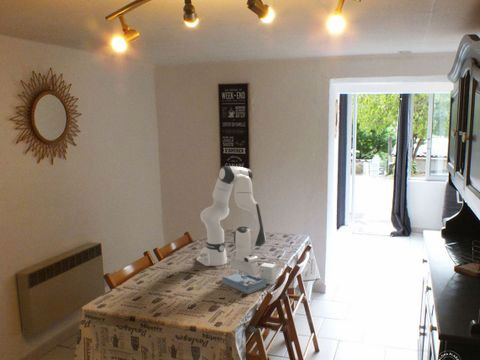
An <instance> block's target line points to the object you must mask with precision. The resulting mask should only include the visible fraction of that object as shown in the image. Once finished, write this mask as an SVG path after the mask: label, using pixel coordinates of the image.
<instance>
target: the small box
mask: <svg viewBox="0 0 480 360" xmlns="http://www.w3.org/2000/svg"><path fill="white" fill-rule="evenodd" d="M259 266H260V267H259V269H260V276H259V278H260V279H266V285H272V286H273V285H274V284H275V283H277V281H278V280H277V264H273V263H270V262H263V263H262V264H260V265H259Z"/></svg>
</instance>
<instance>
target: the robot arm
mask: <svg viewBox="0 0 480 360" xmlns="http://www.w3.org/2000/svg"><path fill="white" fill-rule="evenodd" d="M252 181H253V172H252V170H251V169H250V168H247V167H243V166H238V165H236V166H234V165H233V166H232V165H231V166H229V165H224V166H221V167H220V169H219V171H218V178H217V180H216V183H215V186H214V189H213V191H212V194H211V195H212V198H213V203H212V205H211V206H207V207H205V208H204V209H203V210H202V211H201V212H200V214H199V215H200V220H201V223H203V224H204V227H205V228H206V232H207V233H206V234H207V235H206V236H207V238H206V239H207V241H205V242H204V243H205V244H204V245H205V247H204V248H202V249H201V250H200V252H199V256H198V257H197V258H196V259H195V260H196V261H197V262H198V263H200V264H202V265H204V266H207V267H209V266H215V267H219V266H223V265H226V264H227V263H228V256H227V248H226V241H225V230H224V229H223V227H222V226H221V221H222V220H225V219H226V218H227V217H228V216H229V214H230V208H229V201H230V198H231V197H230V196H231V194H232V190H233V188H234V191H233V192H234V193H233V195H234V197H233V198H234V202H235V204H236V206H237V207H238V208H240V209H242V210H245V211H248V212H249V213H252V214H253V217H254V221H255V227H256V228H255V229H253V228H249V227H248V226H238V227H237V228H236V230H235V232H234V233H233V244H235V246H236V247H235V252H234V251H233V252H231V256H230V261H229V262H230V263H229V264H230V265H229V266H230V268H231V269H234V270H237V271H238V272H239V271H240V274H241V278H242V279H247V275H248V274H250V275H252V276H257V275H258V273H259V264H258V256H256V255H255V254H254V252H252V248H251V247H263V246H264V245H265V244H266V241H267V237H266V232H265V229H264V226H263V220H262V215H261V210H260V209H261V208H260V205H259V203H258V202H257V201H256V200H255V198H254V194H253V193H254V192H253V183H252ZM243 272H244V273H243Z"/></svg>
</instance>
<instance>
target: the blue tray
mask: <svg viewBox="0 0 480 360" xmlns="http://www.w3.org/2000/svg"><path fill="white" fill-rule="evenodd" d="M243 273H244V272H243ZM221 282H222V284H224V285H227V286H229V287H231V288H234V289H235V290H237V291H240V292H242V293H245V294H251V293H253V292H256V291H257V292H258V291H259V290H262V289H264V288H266V287H267V284H266V279H260V277H257V276H256V275H254V276H253V275H250V274H248V275H247V279H242V278H241V274H240V271H239V270H238V273H235V274H233V275H229V276H227V277H225V276H222V280H221ZM249 282H252V284H250V285H248V283H249Z"/></svg>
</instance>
